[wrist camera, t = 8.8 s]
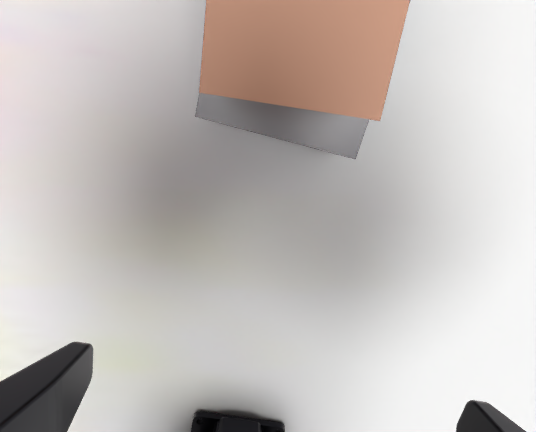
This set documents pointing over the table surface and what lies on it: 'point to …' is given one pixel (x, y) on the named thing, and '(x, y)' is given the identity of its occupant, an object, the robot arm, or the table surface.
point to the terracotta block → (303, 52)
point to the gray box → (287, 123)
